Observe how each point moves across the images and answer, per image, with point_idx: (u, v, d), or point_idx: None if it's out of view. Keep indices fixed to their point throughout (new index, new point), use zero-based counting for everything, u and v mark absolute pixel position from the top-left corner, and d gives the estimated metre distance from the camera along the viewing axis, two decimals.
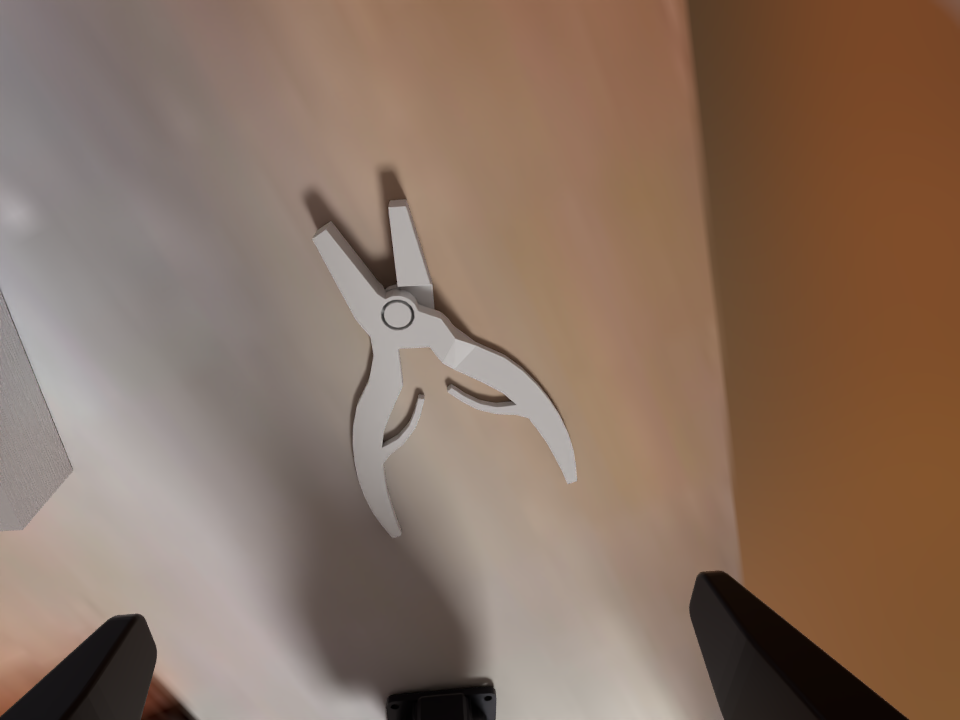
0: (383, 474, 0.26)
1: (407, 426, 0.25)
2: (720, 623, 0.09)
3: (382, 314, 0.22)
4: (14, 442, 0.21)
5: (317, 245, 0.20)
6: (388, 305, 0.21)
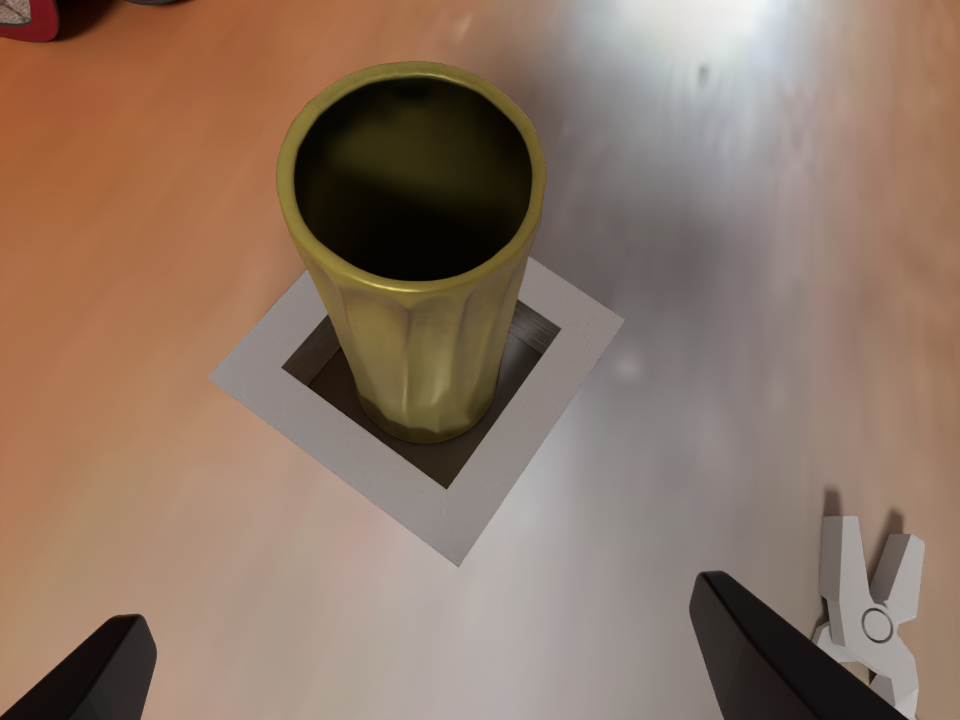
0: None
1: None
2: (720, 623, 0.09)
3: None
4: None
5: (843, 522, 0.23)
6: (871, 611, 0.22)
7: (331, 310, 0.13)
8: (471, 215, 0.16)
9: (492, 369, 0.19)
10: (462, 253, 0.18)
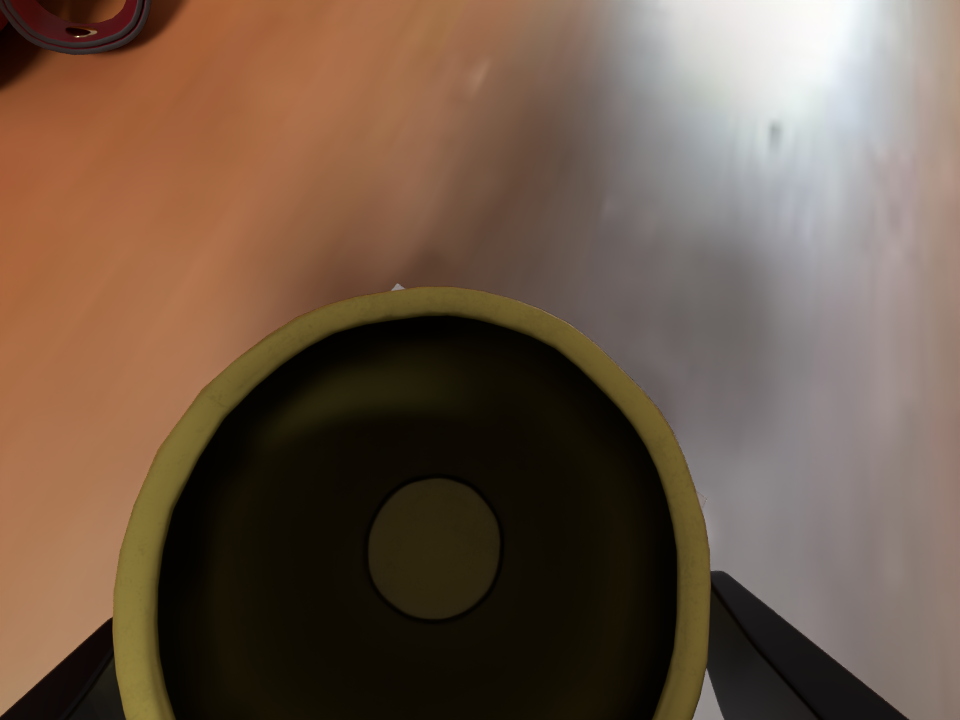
0: None
1: None
2: (720, 623, 0.09)
3: None
4: None
5: None
6: None
7: None
8: (512, 438, 0.10)
9: None
10: (490, 454, 0.12)
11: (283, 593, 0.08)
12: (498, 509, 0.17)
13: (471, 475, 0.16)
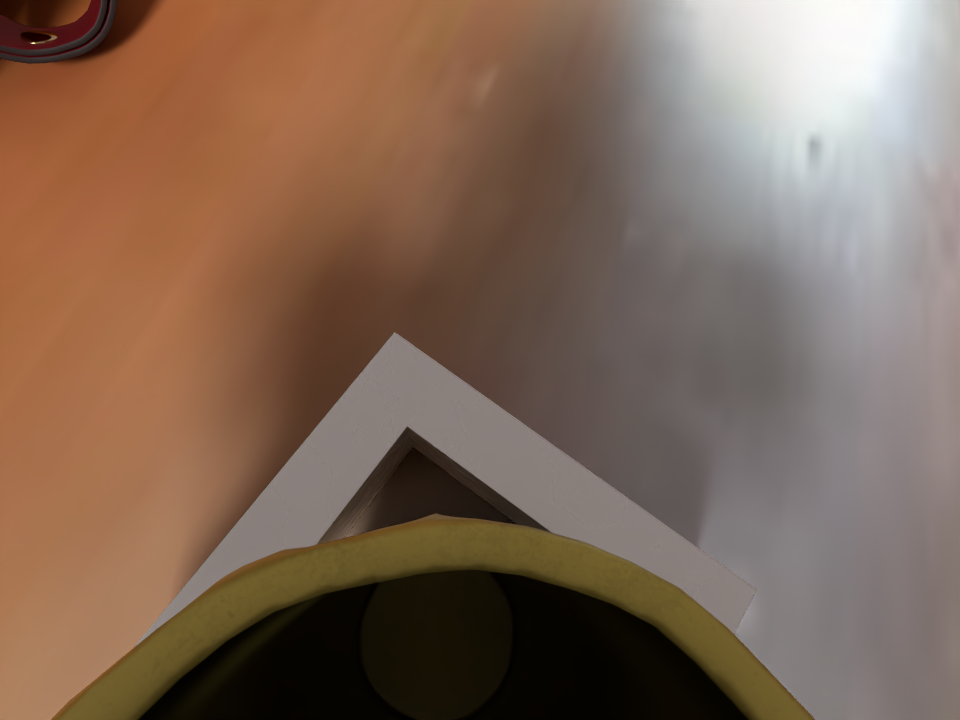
0: None
1: None
2: None
3: None
4: None
5: None
6: None
7: None
8: (543, 589, 0.08)
9: None
10: None
11: None
12: (511, 594, 0.15)
13: None
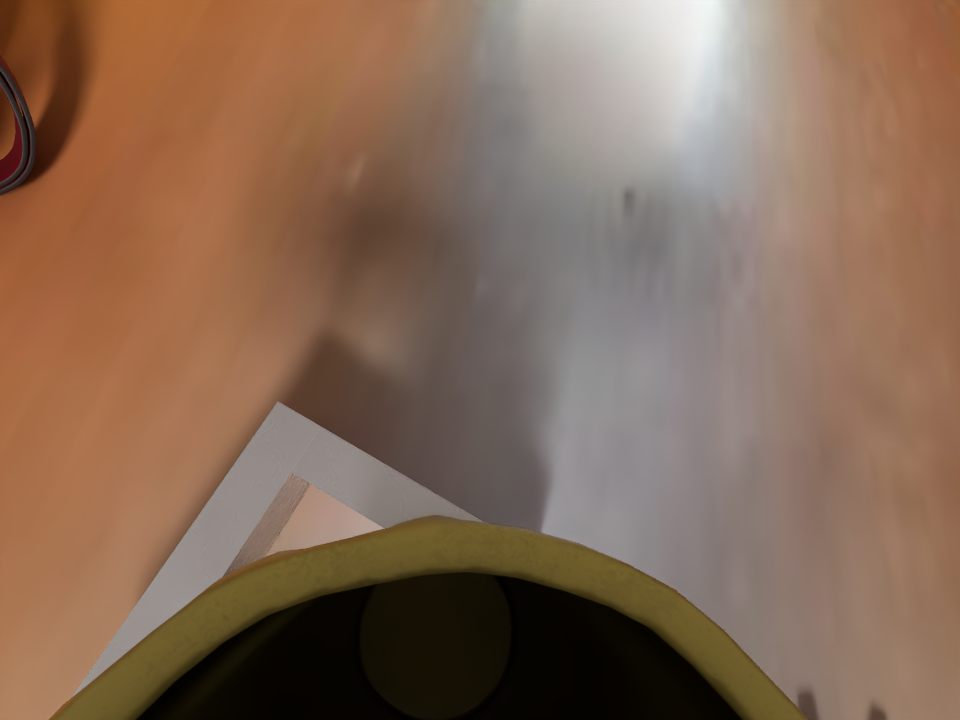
0: None
1: None
2: None
3: None
4: None
5: None
6: None
7: None
8: (541, 589, 0.08)
9: None
10: None
11: None
12: (510, 593, 0.15)
13: None
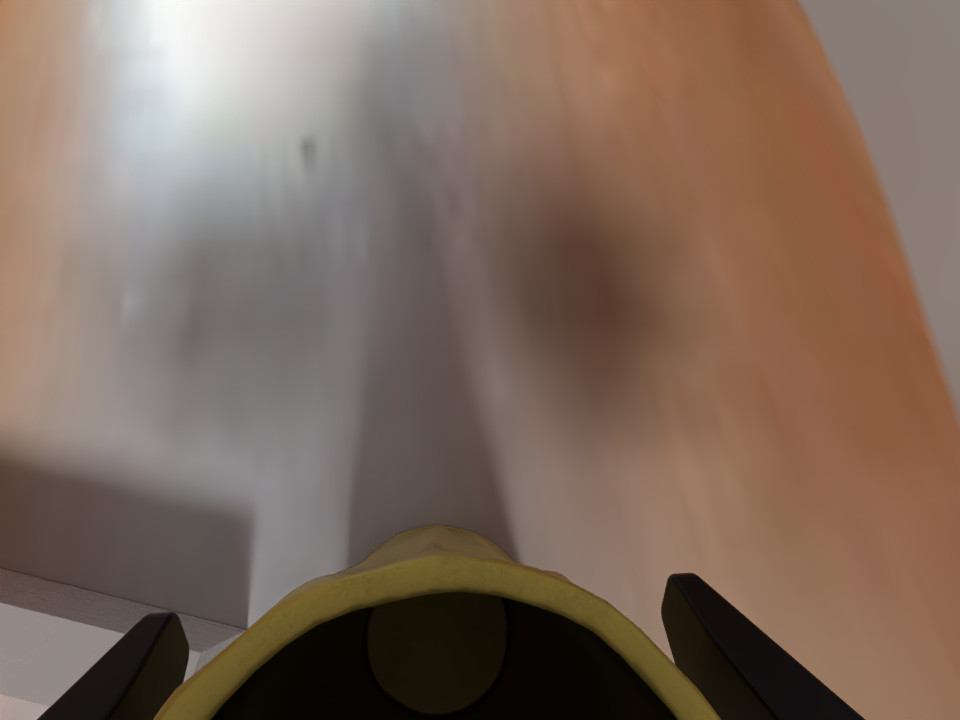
0: None
1: None
2: (689, 626, 0.09)
3: None
4: None
5: None
6: None
7: None
8: None
9: None
10: None
11: None
12: None
13: None
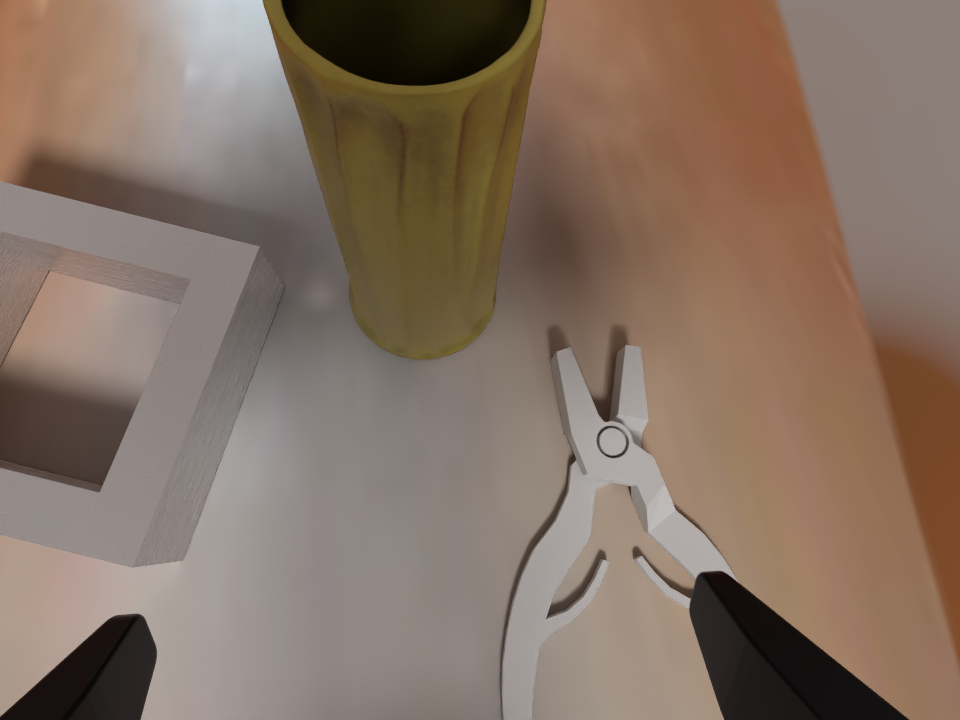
0: (535, 664, 0.20)
1: (580, 597, 0.21)
2: (720, 623, 0.09)
3: None
4: (190, 470, 0.19)
5: (558, 358, 0.22)
6: (605, 430, 0.22)
7: (322, 162, 0.13)
8: None
9: (490, 267, 0.19)
10: None
11: None
12: None
13: None
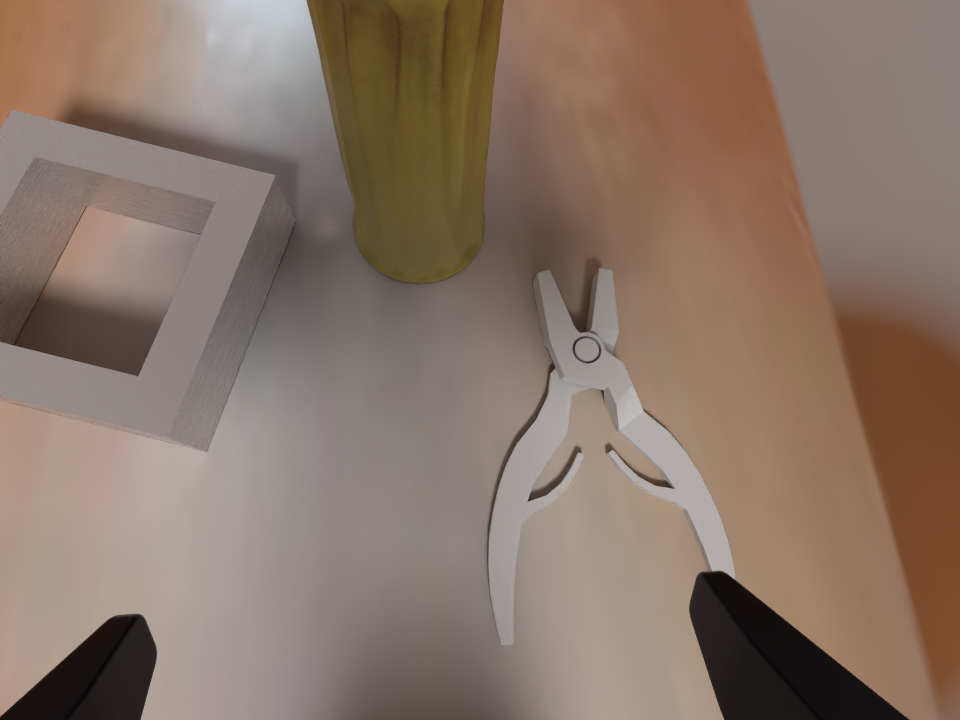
0: (518, 539, 0.22)
1: None
2: (720, 623, 0.09)
3: None
4: (214, 366, 0.22)
5: (539, 278, 0.25)
6: (580, 340, 0.24)
7: (333, 68, 0.16)
8: None
9: (477, 188, 0.22)
10: None
11: None
12: None
13: None
